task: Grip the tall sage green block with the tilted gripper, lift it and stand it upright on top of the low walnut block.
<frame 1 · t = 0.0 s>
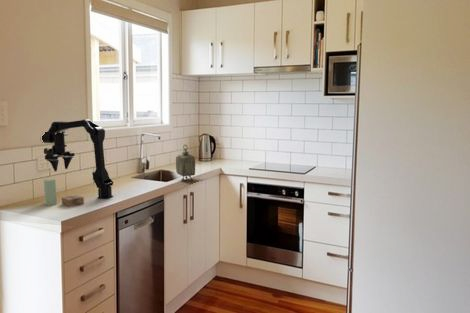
hand: (60, 170, 229), 15 cm above the countertop, tool pointing down, fingers open, 9 cm apart
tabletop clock: (185, 180, 276), on the countertop
walnut block: (72, 204, 209), on the countertop
sage green block: (50, 203, 210), on the countertop
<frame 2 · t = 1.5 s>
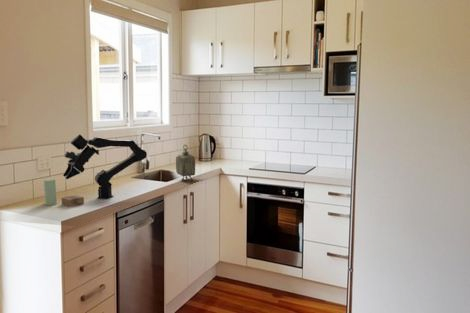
hand: (64, 177, 212), 13 cm above the countertop, tool tilted 45°, fingers open, 9 cm apart
nothing on the countertop moved.
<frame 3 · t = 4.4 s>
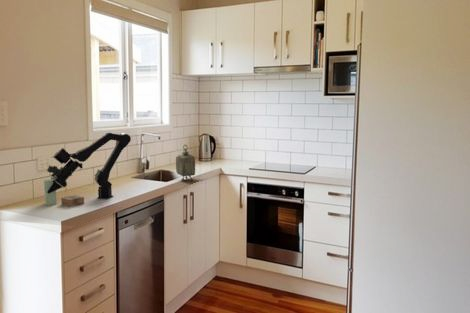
hand: (47, 191, 209), 7 cm above the countertop, tool tilted 45°, fingers closed on sage green block, 5 cm apart
sage green block: (50, 203, 210), on the countertop, touching gripper
everything else where it was.
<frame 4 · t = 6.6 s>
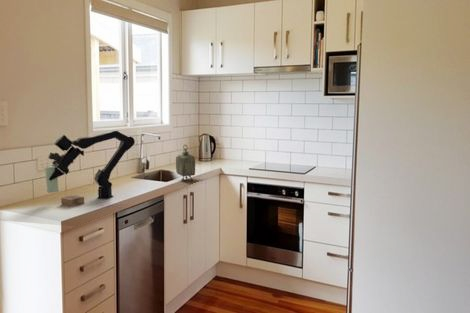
hand: (48, 179, 207), 13 cm above the countertop, tool tilted 45°, fingers closed on sage green block, 5 cm apart
sage green block: (52, 191, 209), point 7 cm above the countertop, touching gripper
everything else where it was.
when the fingers open (12 cm above the countertop, at t = 8.3 s): sage green block drops 2 cm, resting on walnut block.
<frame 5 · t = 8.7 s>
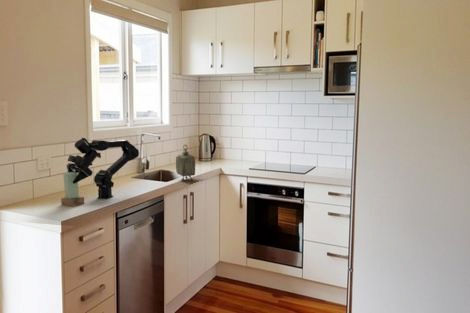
hand: (69, 182, 207), 12 cm above the countertop, tool tilted 45°, fingers open, 9 cm apart
walnut block: (72, 204, 209), on the countertop, touching sage green block
sage green block: (72, 197, 208), point 4 cm above the countertop, touching walnut block
everything else where it was.
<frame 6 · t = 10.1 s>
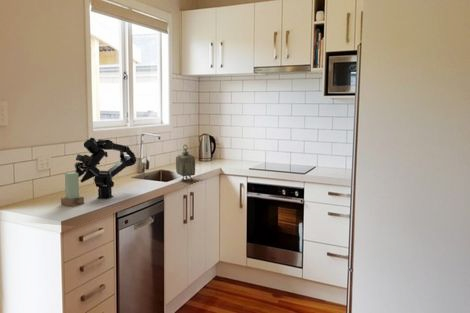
hand: (77, 181, 210), 12 cm above the countertop, tool tilted 45°, fingers open, 9 cm apart
nothing on the countertop moved.
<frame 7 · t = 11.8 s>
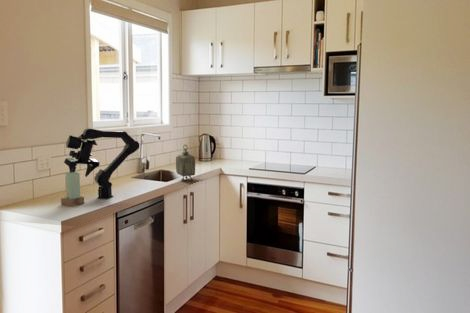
hand: (78, 176, 220), 13 cm above the countertop, tool tilted 20°, fingers open, 9 cm apart
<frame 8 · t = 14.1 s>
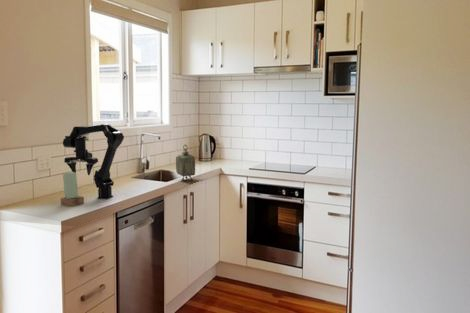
hand: (81, 174, 229), 12 cm above the countertop, tool pointing down, fingers open, 9 cm apart
at the end: sage green block 0.4 cm off-centre on the walnut block, point 4.2 cm above the walnut block's base; sage green block tilted 3°; the gripper is holding nothing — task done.
